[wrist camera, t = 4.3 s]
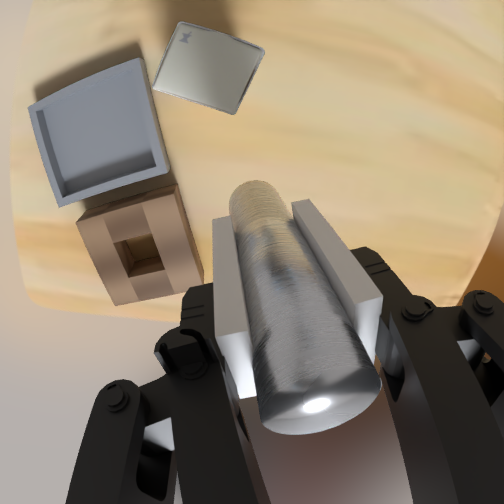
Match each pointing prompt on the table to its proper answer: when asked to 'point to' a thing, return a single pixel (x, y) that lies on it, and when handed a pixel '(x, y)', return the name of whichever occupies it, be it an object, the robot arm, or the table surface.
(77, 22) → the table surface
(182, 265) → the brown block with hole
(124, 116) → the tray
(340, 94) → the table surface
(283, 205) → the pin
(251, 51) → the box
